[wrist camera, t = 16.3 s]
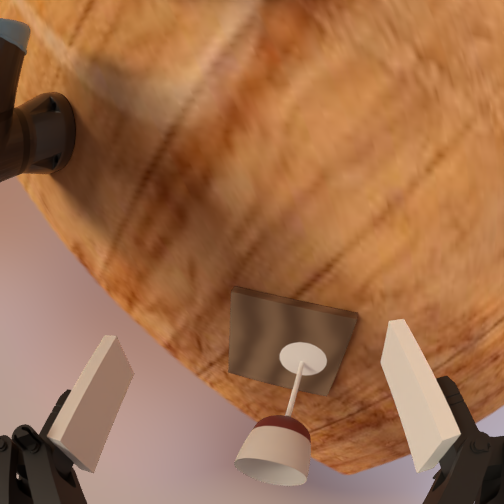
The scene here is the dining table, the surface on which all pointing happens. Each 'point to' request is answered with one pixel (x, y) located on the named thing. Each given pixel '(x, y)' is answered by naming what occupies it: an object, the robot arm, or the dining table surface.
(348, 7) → the dining table surface
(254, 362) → the walnut board
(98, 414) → the robot arm
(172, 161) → the dining table surface
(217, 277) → the dining table surface
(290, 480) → the wineglass
